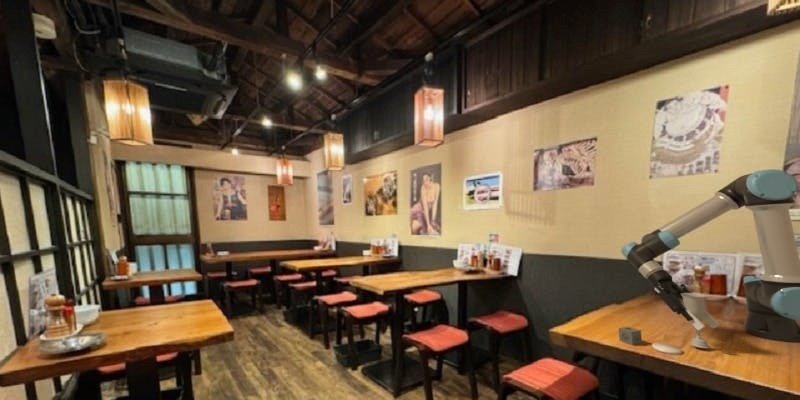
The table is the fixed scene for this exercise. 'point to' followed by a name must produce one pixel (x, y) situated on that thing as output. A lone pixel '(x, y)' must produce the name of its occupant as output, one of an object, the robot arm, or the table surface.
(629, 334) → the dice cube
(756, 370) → the table surface
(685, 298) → the chalice
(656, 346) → the coaster
